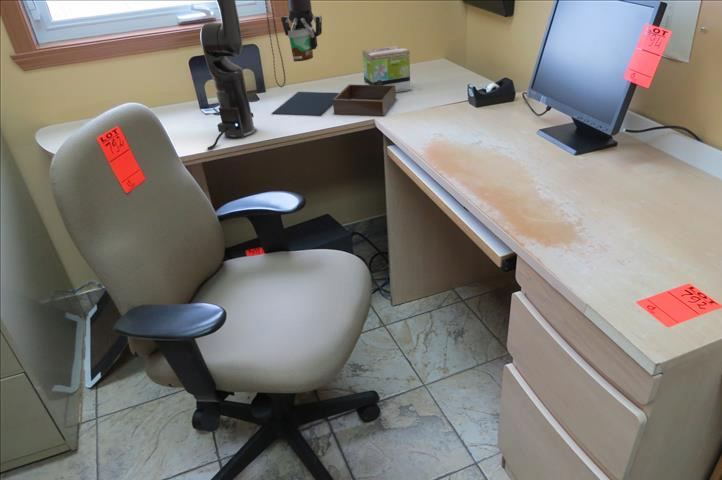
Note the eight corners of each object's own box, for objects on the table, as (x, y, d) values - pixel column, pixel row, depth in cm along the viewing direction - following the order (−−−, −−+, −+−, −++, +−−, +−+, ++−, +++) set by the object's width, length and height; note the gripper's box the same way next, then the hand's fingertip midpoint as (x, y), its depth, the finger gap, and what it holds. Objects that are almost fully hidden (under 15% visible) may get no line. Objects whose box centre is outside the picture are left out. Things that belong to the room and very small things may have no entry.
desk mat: (320, 115, 190) (320, 114, 190) (272, 114, 194) (272, 112, 194) (342, 94, 209) (342, 93, 209) (298, 92, 213) (298, 91, 213)
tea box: (374, 97, 204) (371, 55, 196) (364, 90, 212) (361, 49, 204) (411, 90, 209) (409, 49, 201) (400, 83, 217) (398, 44, 208)
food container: (309, 62, 186) (305, 31, 181) (292, 62, 188) (287, 31, 182) (321, 53, 196) (317, 23, 191) (304, 53, 197) (300, 23, 192)
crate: (383, 116, 187) (382, 101, 184) (334, 114, 191) (332, 99, 188) (396, 99, 201) (395, 85, 198) (349, 98, 205) (348, 84, 202)
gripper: (273, -3, 179) (281, 51, 189) (314, -4, 176) (321, 51, 186) (282, -7, 185) (290, 45, 195) (322, -8, 182) (328, 46, 192)
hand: (305, 48), depth 190 cm, fingers closed on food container, 6 cm apart
